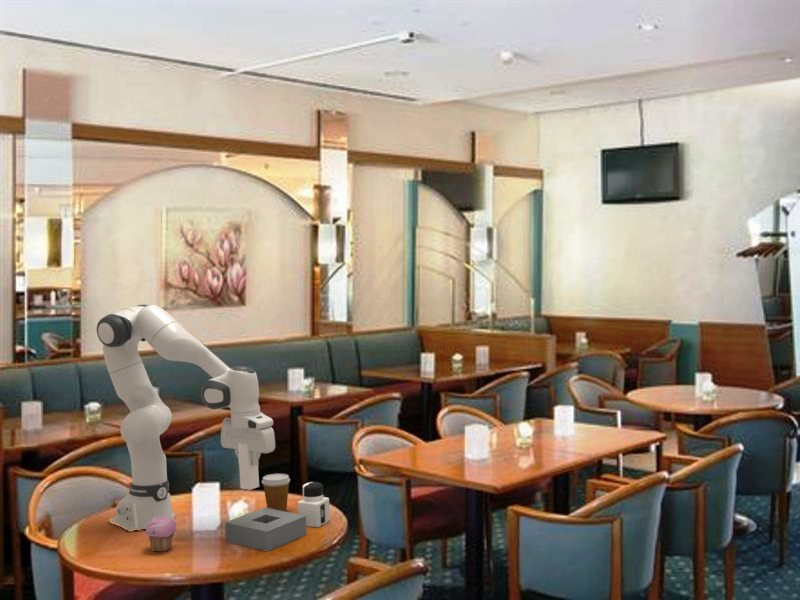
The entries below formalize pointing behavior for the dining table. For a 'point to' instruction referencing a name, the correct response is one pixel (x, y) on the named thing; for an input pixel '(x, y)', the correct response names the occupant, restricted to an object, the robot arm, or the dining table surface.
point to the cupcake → (161, 533)
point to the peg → (247, 468)
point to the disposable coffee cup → (276, 491)
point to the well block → (265, 529)
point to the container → (314, 505)
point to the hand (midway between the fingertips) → (248, 464)
